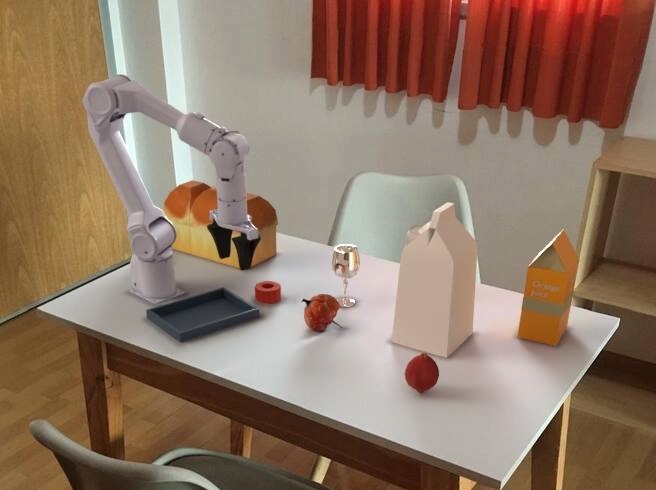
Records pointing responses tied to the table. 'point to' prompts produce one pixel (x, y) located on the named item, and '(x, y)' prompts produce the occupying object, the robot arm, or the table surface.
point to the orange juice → (549, 292)
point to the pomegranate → (320, 311)
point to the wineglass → (345, 268)
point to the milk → (436, 286)
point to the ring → (267, 292)
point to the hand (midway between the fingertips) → (235, 263)
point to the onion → (422, 373)
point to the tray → (202, 314)
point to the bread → (193, 217)
